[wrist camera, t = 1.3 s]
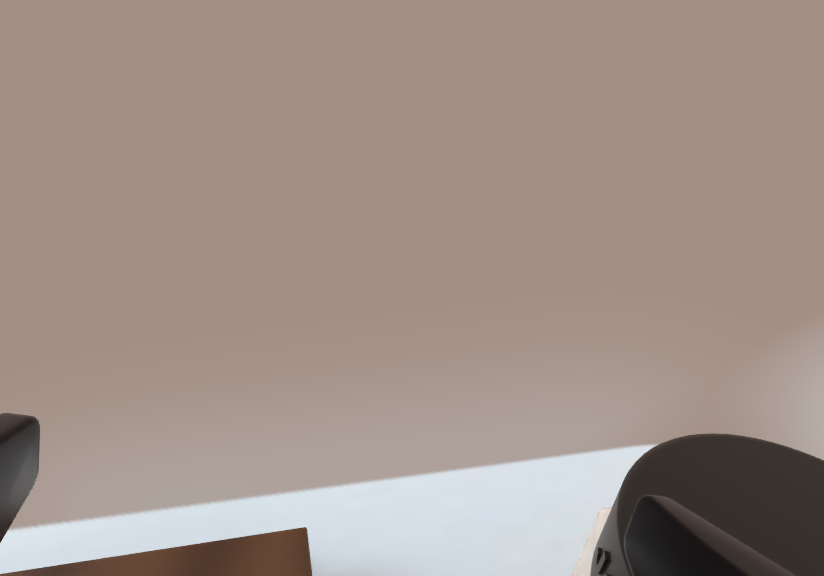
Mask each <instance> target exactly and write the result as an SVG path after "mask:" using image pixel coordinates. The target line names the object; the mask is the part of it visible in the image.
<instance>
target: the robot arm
mask: <svg viewBox="0 0 824 576" xmlns="http://www.w3.org/2000/svg"><path fill="white" fill-rule="evenodd" d="M39 442H40V425H39V421H38V420H37V419H36V418H35V417H33V416H27V415H18V414H11V413H3V414H0V542H1V541H2V539H3V537H4V536H5V534H6V532H7V531H8V529H9V527H10V525H11V524H12V522H13V520H14V519H15V517H16V515H17V513H18V512H19V510H20V508H21V507H22V505H23V503H24V501H25V500H26V498H27V496H28V495H29V493H30V491H31V490H32V488H33V485H34V484H35V481H36V478H37V475H38V468H39ZM624 549H625V554H626V557H627V560H628V563H629V566H630V569H631V572H632V575H633V576H796V575H794V574H793V573H791V572H789V571H788V570H786V569H785V568H783V567H781V566H780V565H778V564H776V563H775V562H773V561H772V560H770V559H768V558H767V557H765V556H763V555H762V554H760V553H759V552H757V551H755V550H754V549H752V548H750V547H749V546H747V545H746V544H744V543H742V542H741V541H739V540H737V539H736V538H734V537H733V536H731V535H729V534H728V533H726V532H724V531H723V530H721V529H720V528H718V527H716V526H715V525H713V524H712V523H710V522H708V521H707V520H705V519H703V518H702V517H700V516H699V515H697V514H695V513H694V512H692V511H690V510H689V509H687V508H686V507H684V506H682V505H681V504H679V503H677V502H676V501H674V500H673V499H671V498H668V497H665V496H657V495H648V494H647V495H644V496H642V497H641V498H640V499H639V500H638V502H637V505H636V507H635V510H634V513H633V515H632V518H631V520H630V523H629V526H628V528H627V531H626V533H625V537H624Z"/></svg>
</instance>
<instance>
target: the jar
mask: <svg viewBox="0 0 824 576" xmlns="http://www.w3.org/2000/svg"><path fill="white" fill-rule="evenodd" d="M647 494H648V495H657V496H665V497H668V498H671V499H673V500H674V501H676V502H677V503H679V504H681V505H682V506H684V507H686V508H687V509H689V510H690V511H692V512H694V513H695V514H697V515H699V516H700V517H702V518H703V519H705V520H707V521H708V522H710V523H712V524H713V525H715V526H716V527H718V528H720V529H721V530H723V531H724V532H726V533H728V534H729V535H731V536H733V537H734V538H736V539H737V540H739V541H741V542H742V543H744V544H746V545H747V546H749V547H750V548H752V549H754V550H755V551H757V552H759V553H760V554H762V555H763V556H765V557H767V558H768V559H770V560H772V561H773V562H775V563H776V564H778V565H780V566H781V567H783V568H785V569H786V570H788V571H789V572H791V573H793V574H794V575H796V576H824V460H821V459H819V458H816V457H814V456H811V455H809V454H806V453H804V452H801V451H798V450H795V449H792V448H789V447H786V446H783V445H780V444H776V443H773V442H769V441H765V440H761V439H756V438H751V437H745V436H739V435H738V436H737V435H730V434H696V435H689V436H684V437H679V438H675V439H672V440H669V441H667V442H664V443H661V444H659V445H657V446H655V447H653V448H652V449H650V450H649V451H648V452H646V453H645V454H644V455H643V456H641V457H640V458H639V459H638V460H637V461H636V462H635V464H634V465H633V466H632V468H631V469H630V470H629V472H628V473H627V475H626V477H625V479H624V481H623V484H622V486H621V488H620V490H619V493H618V495H617V497H616V500H615V502H614V504H613V507H606V508H603V509H601V510H600V511H599V512H598V515H597V517H596V519H595V522H594V524H593V527H592V529H591V531H590V534H589V536H588V539H587V541H586V543H585V546H584V548H583V551H582V553H581V555H580V558H579V560H578V563H577V565H576V567H575V570H574V572H573V575H572V576H633V575H632V572H631V569H630V566H629V563H628V560H627V557H626V554H625V549H624V537H625V533H626V531H627V528H628V526H629V523H630V520H631V518H632V515H633V513H634V510H635V507H636V505H637V502H638V500H639V499H640V498H641V497H642V496H644V495H647Z"/></svg>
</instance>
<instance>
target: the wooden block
mask: <svg viewBox="0 0 824 576" xmlns="http://www.w3.org/2000/svg"><path fill="white" fill-rule="evenodd" d="M0 576H312V569H311V560H310V551H309V542H308V534H307V528H305V527H304V528H298V529H291V530H285V531H278V532H272V533H265V534H259V535H252V536H246V537H239V538H233V539H226V540H220V541H213V542H207V543H200V544H194V545H187V546H181V547H174V548H168V549H161V550H155V551H148V552H142V553H135V554H129V555H122V556H116V557H109V558H103V559H96V560H90V561H83V562H77V563H70V564H64V565H57V566H51V567H44V568H38V569H31V570H25V571H18V572H12V573H5V574H0Z"/></svg>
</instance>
